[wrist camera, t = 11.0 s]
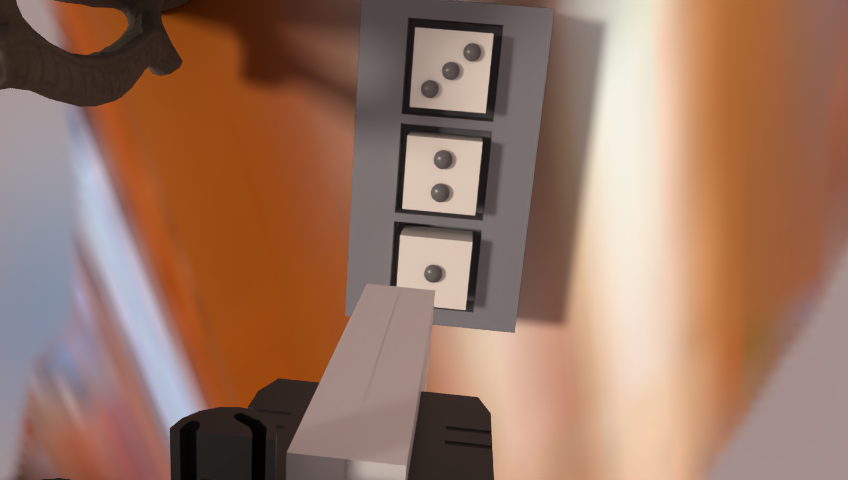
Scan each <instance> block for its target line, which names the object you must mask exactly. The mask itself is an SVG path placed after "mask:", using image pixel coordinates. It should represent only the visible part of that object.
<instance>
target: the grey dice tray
mask: <svg viewBox="0 0 848 480" xmlns="http://www.w3.org/2000/svg"><path fill="white" fill-rule="evenodd" d="M553 17H554V9H553V8H541V7H528V6H515V5H502V4H489V3H477V2H464V1H451V0H362V1H361V20H360V39H359V58H358V78H357V97H356V116H355V136H354V155H353V174H352V193H351V213H350V232H349V251H348V271H347V290H346V309H345V316H352V313H353V311H354V309H355V307H356V305H357V303H358V301H359V299H360V297H361V294H362V292H363V290H364V288H365V286H366V284H376V285H386V286H396V287H397V273H398V259H399V245H400V235H401V232H402V230H403V227H404V225H410V226H420V227H431V228H442V229H452V230H463V231H473V241H472V252H471V262H470V272H469V281H468V291H467V301H466V310H459V309H449V308H439V307H434V309H433V321H432V325H442V326H452V327H462V328H472V329H482V330H492V331H502V332H512V333H515V325H516V317H517V309H518V301H519V293H520V285H521V277H522V268H523V260H524V252H525V244H526V236H527V228H528V220H529V212H530V203H531V195H532V187H533V179H534V171H535V163H536V155H537V147H538V139H539V130H540V122H541V114H542V106H543V98H544V90H545V82H546V74H547V65H548V57H549V49H550V41H551V33H552V25H553ZM415 27H418V28H431V29H443V30H456V31H468V32H481V33H493V34H494V35H493V45H492V55H491V65H490V75H489V85H488V95H487V104H486V113H476V112H464V111H453V110H441V109H429V108H418V107H410V93H411V79H412V65H413V52H414V38H415ZM411 131H419V132H431V133H442V134H453V135H465V136H476V137H482V141H483V144H482V154H481V163H480V173H479V183H478V193H477V203H476V213H475V216H474V215H463V214H453V213H442V212H431V211H420V210H410V209H402V204H403V190H404V176H405V162H406V148H407V135H408V134H409V133H410V132H411Z"/></svg>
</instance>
